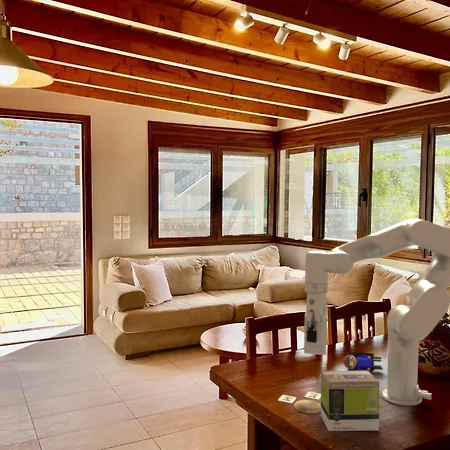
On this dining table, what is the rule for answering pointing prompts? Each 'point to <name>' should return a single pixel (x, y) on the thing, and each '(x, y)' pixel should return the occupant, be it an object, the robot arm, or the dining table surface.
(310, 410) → the cork coaster
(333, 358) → the dining table surface
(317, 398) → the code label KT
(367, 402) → the tea box
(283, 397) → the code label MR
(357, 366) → the character figurine
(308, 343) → the supplement box
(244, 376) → the dining table surface
